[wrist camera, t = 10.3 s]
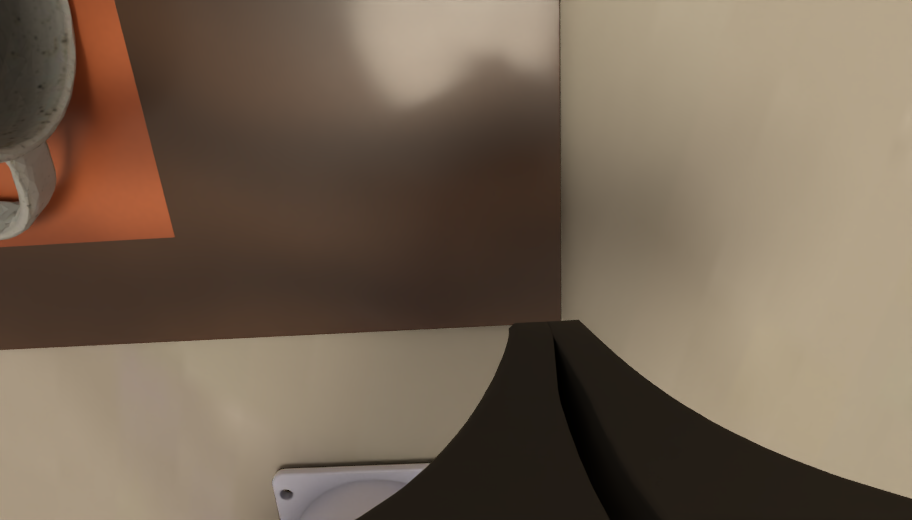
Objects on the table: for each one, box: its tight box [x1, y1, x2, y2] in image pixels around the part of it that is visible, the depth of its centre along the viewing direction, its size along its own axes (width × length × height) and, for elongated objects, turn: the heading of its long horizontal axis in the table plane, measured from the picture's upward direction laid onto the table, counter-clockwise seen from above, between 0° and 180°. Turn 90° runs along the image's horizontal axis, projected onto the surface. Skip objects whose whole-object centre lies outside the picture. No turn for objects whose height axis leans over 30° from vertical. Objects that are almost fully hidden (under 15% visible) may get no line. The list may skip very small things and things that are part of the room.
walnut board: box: [0, 0, 561, 350], centre depth 20 cm, size 15×25×1 cm, turn 94°
